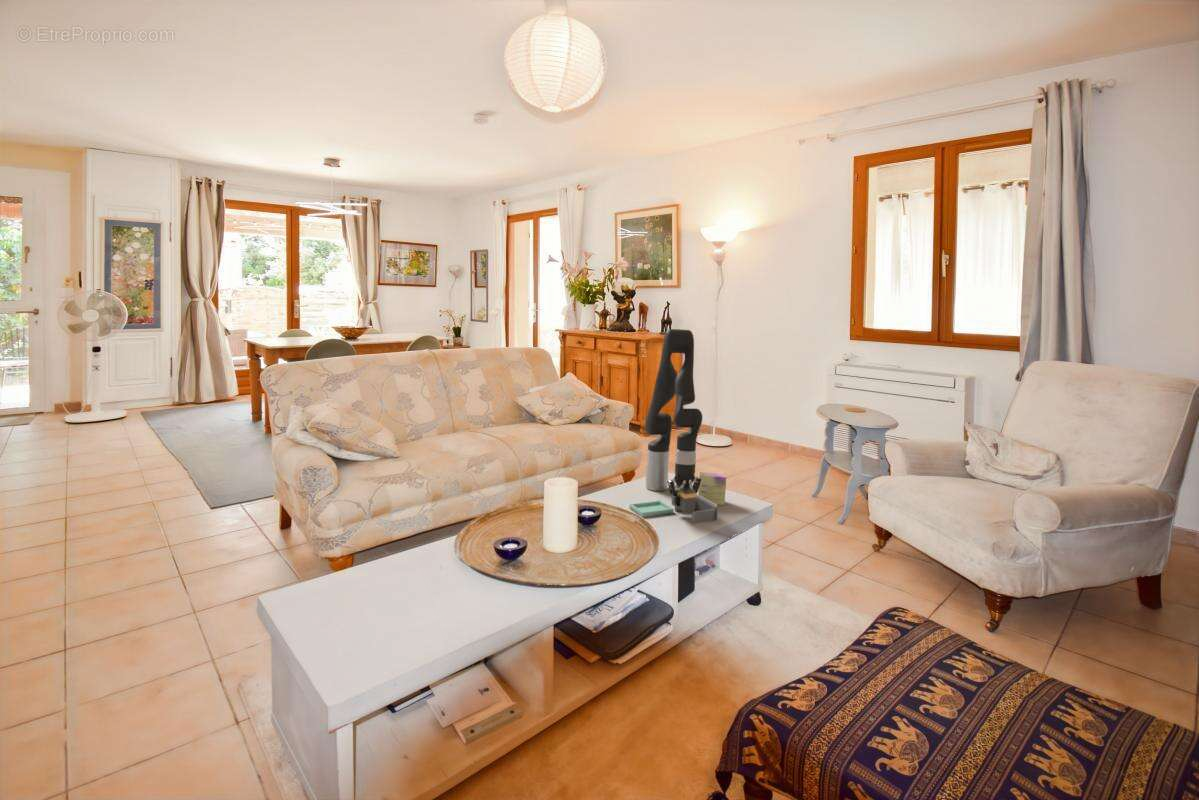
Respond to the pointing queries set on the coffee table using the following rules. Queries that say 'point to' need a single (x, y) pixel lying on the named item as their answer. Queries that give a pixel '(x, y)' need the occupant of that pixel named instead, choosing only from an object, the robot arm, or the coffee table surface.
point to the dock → (703, 510)
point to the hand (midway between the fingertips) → (683, 504)
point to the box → (713, 487)
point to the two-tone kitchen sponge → (686, 500)
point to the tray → (651, 508)
